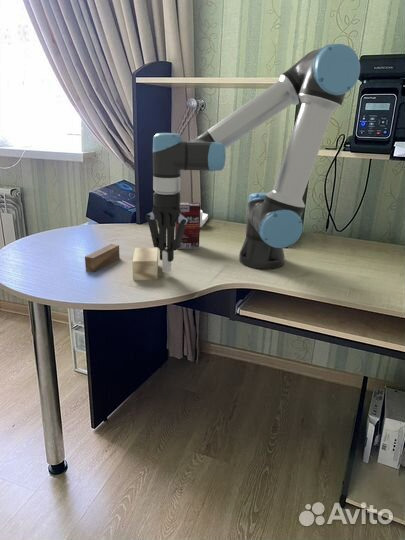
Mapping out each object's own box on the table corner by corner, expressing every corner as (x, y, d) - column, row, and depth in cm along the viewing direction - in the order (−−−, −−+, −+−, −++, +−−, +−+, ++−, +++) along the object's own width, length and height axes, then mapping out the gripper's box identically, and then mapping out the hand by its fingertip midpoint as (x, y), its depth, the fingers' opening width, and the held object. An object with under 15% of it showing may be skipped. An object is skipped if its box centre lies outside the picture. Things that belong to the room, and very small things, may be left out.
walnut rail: (119, 258, 139) (119, 245, 137) (94, 272, 126) (93, 258, 125) (111, 256, 140) (111, 243, 138) (85, 270, 128) (84, 256, 126)
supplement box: (175, 249, 149) (176, 205, 143) (174, 245, 153) (175, 202, 147) (199, 249, 150) (201, 205, 144) (198, 244, 154) (199, 202, 149)
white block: (199, 229, 174) (200, 214, 172) (179, 228, 176) (179, 212, 173) (209, 218, 192) (209, 204, 190) (190, 216, 194) (190, 202, 191)
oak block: (158, 265, 134) (157, 248, 131) (157, 280, 122) (156, 261, 120) (135, 265, 133) (135, 247, 131) (133, 280, 122) (132, 261, 120)
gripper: (193, 191, 117) (191, 270, 126) (152, 187, 121) (153, 263, 130) (182, 196, 110) (181, 278, 119) (139, 191, 115) (141, 271, 124)
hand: (166, 270), depth 125 cm, fingers closed
